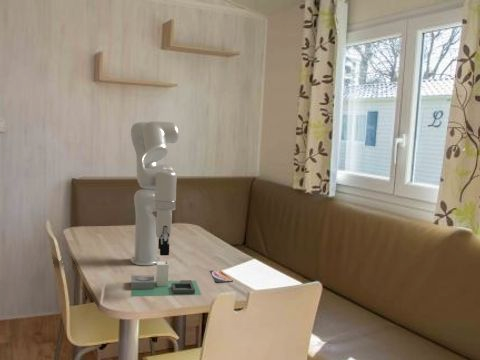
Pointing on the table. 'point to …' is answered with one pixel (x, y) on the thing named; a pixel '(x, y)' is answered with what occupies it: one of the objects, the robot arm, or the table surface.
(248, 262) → the table surface
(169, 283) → the board
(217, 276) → the smartphone
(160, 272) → the plug
